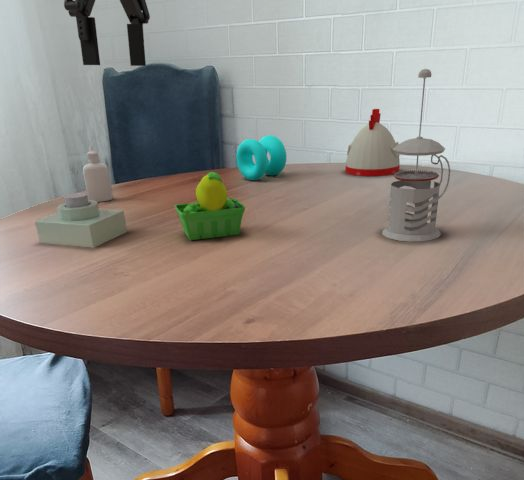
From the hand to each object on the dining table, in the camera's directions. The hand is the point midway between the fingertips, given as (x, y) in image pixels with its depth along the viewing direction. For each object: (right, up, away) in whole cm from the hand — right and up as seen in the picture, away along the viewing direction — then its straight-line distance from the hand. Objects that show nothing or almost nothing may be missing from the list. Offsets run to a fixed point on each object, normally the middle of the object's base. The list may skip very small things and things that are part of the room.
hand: (116, 65), depth 92 cm
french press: (+51, -28, +1) cm, 59 cm away
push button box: (-8, -28, +7) cm, 30 cm away
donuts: (+25, -4, +49) cm, 55 cm away
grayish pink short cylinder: (-8, -23, +5) cm, 25 cm away
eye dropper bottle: (-13, -14, +34) cm, 39 cm away
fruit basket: (+16, -28, +5) cm, 33 cm away
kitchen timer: (+54, -1, +50) cm, 74 cm away
